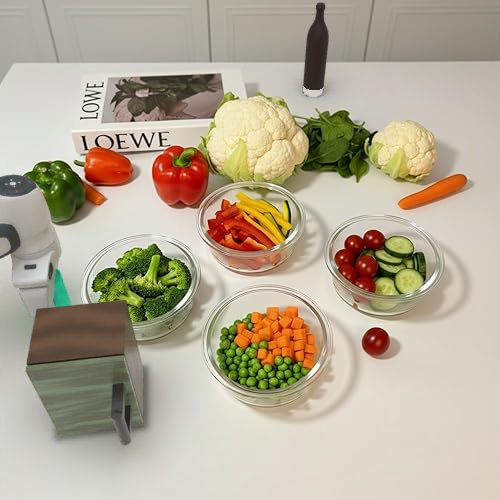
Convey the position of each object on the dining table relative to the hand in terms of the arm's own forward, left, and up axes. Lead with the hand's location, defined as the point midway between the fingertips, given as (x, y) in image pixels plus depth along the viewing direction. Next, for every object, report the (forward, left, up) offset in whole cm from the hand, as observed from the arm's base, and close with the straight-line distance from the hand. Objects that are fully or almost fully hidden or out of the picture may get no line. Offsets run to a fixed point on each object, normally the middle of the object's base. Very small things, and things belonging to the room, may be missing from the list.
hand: (53, 296), depth 114 cm
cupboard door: (+11, -31, -6) cm, 34 cm away
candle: (0, 0, -5) cm, 5 cm away
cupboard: (+11, -22, -6) cm, 25 cm away
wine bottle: (+75, +87, -7) cm, 115 cm away
